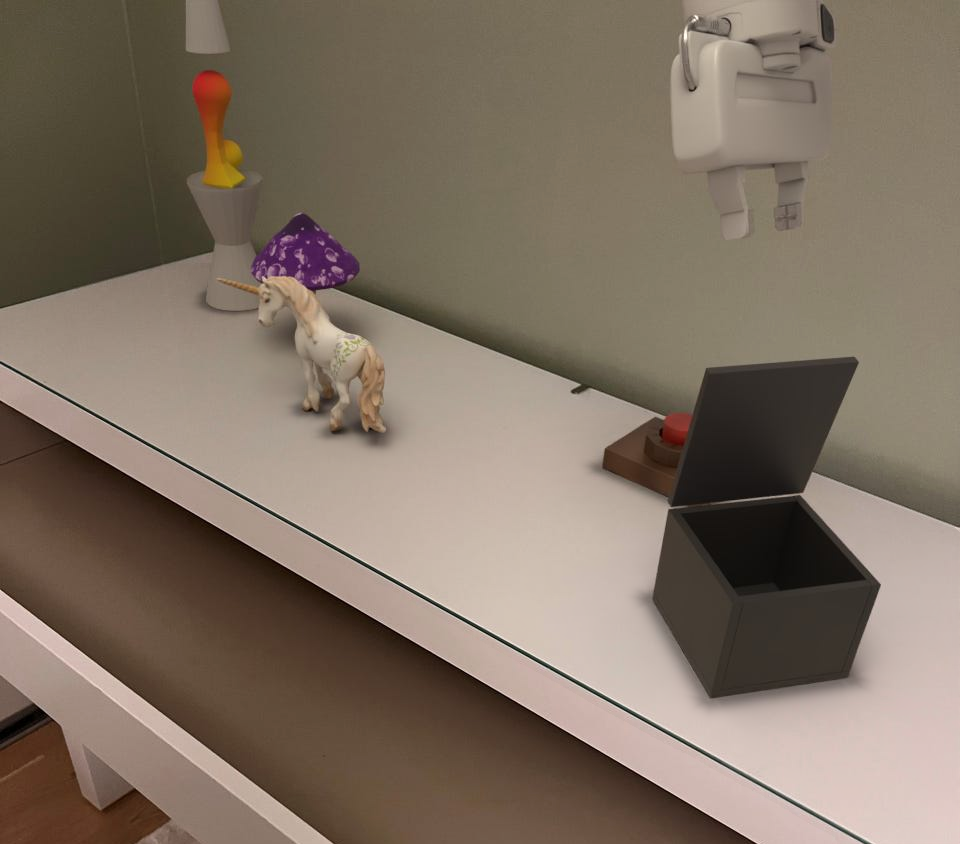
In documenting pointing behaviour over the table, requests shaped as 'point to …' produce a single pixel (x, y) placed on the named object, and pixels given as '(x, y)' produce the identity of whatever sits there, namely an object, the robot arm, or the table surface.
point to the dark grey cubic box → (761, 594)
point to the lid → (759, 429)
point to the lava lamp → (222, 170)
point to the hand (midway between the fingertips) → (765, 234)
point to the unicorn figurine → (324, 350)
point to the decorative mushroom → (306, 256)
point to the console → (645, 457)
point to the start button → (676, 428)
